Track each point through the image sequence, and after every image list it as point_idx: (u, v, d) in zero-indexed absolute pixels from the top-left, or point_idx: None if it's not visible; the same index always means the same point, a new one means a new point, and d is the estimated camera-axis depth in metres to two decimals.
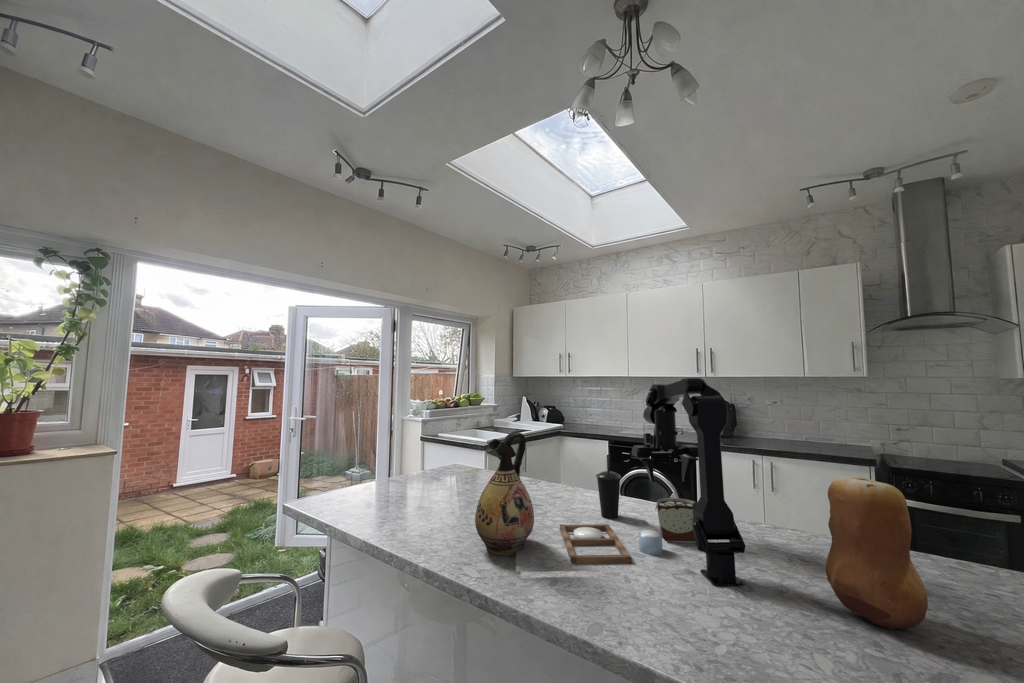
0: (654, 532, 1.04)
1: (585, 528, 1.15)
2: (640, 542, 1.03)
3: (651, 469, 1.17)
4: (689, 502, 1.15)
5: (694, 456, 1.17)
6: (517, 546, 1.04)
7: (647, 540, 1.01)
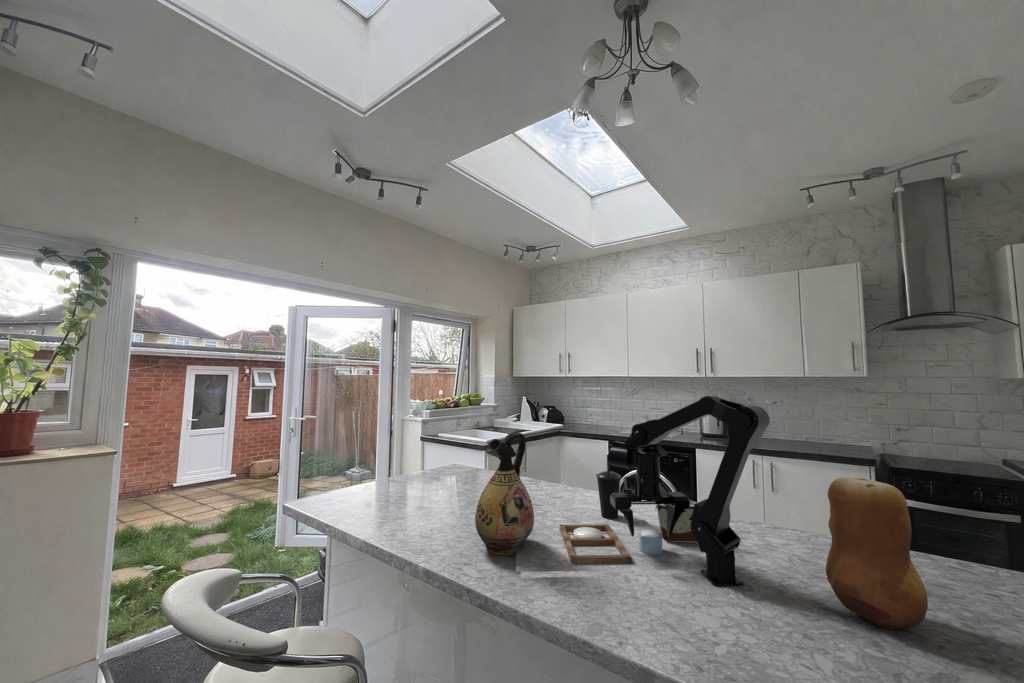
0: (654, 532, 1.04)
1: (585, 528, 1.15)
2: (640, 542, 1.03)
3: (631, 522, 1.02)
4: None
5: (681, 507, 1.01)
6: (517, 546, 1.04)
7: (647, 540, 1.01)
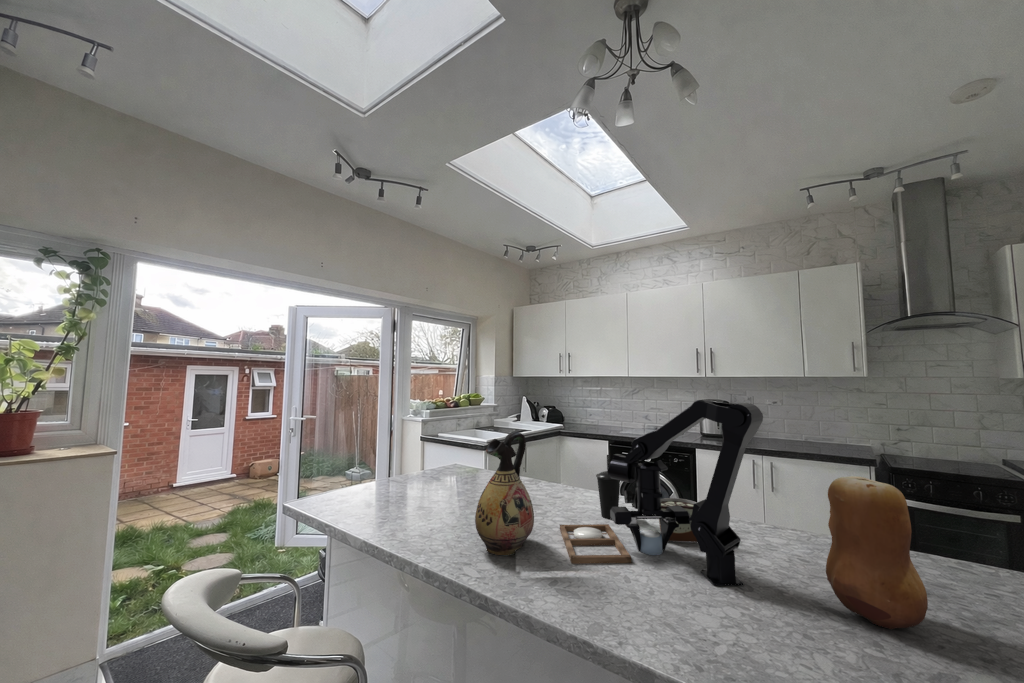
0: (654, 532, 1.04)
1: (585, 528, 1.15)
2: None
3: (638, 537, 1.02)
4: (689, 502, 1.15)
5: (681, 522, 1.01)
6: (517, 546, 1.04)
7: (647, 540, 1.01)
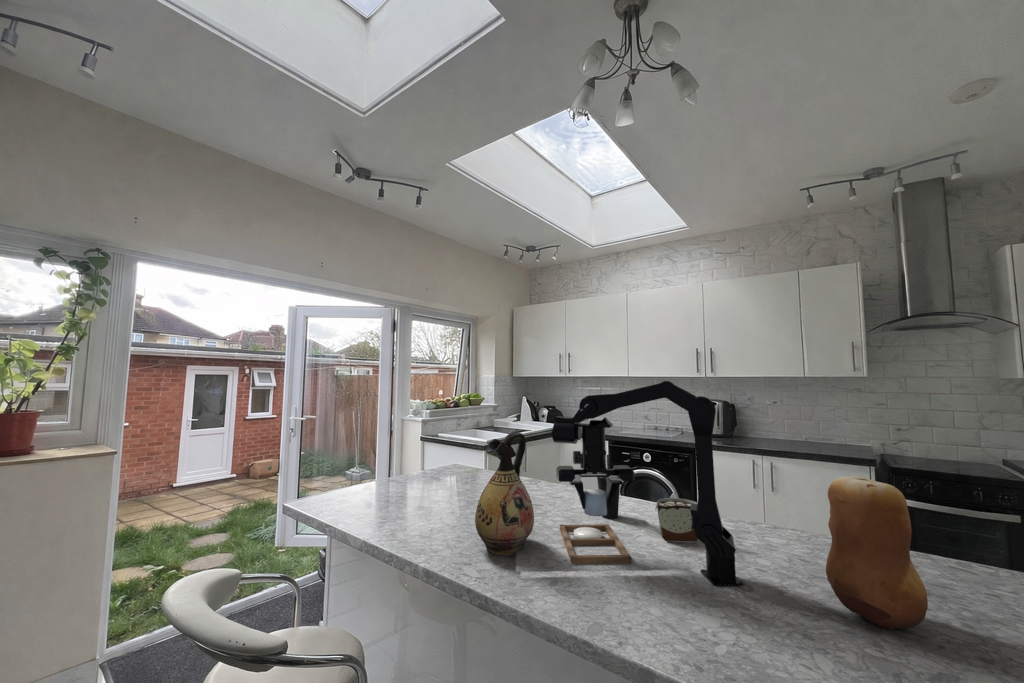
0: (599, 490, 1.04)
1: (585, 528, 1.15)
2: None
3: (582, 494, 1.01)
4: (689, 502, 1.15)
5: (624, 479, 1.00)
6: (517, 546, 1.04)
7: (591, 497, 1.01)
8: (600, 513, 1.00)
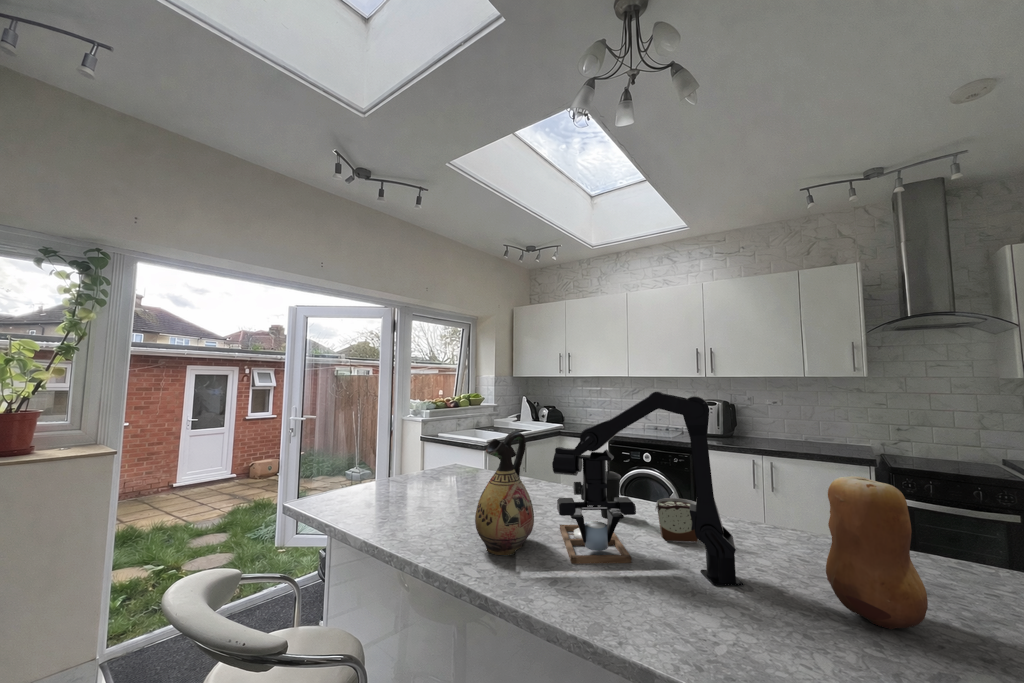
0: (600, 523, 1.03)
1: None
2: (585, 533, 1.02)
3: (582, 528, 1.00)
4: (689, 502, 1.15)
5: (626, 513, 1.00)
6: (517, 546, 1.04)
7: (592, 531, 1.00)
8: (601, 547, 0.99)
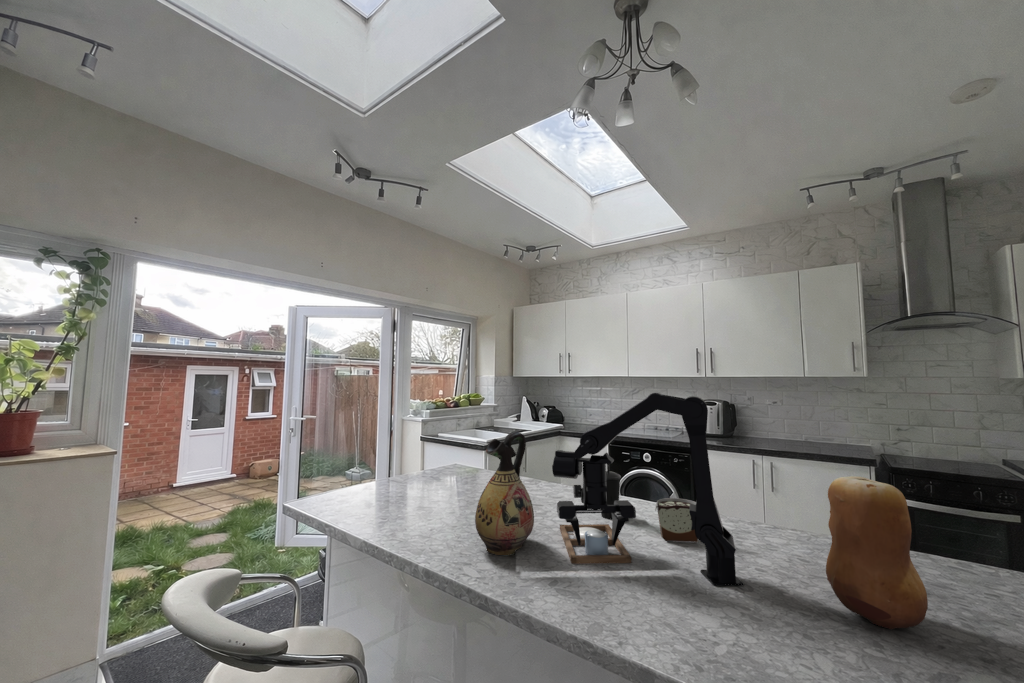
0: (601, 532, 1.03)
1: (585, 528, 1.15)
2: (586, 542, 1.01)
3: (577, 531, 1.00)
4: (689, 502, 1.15)
5: (625, 517, 1.00)
6: (517, 546, 1.04)
7: (592, 540, 1.00)
8: None
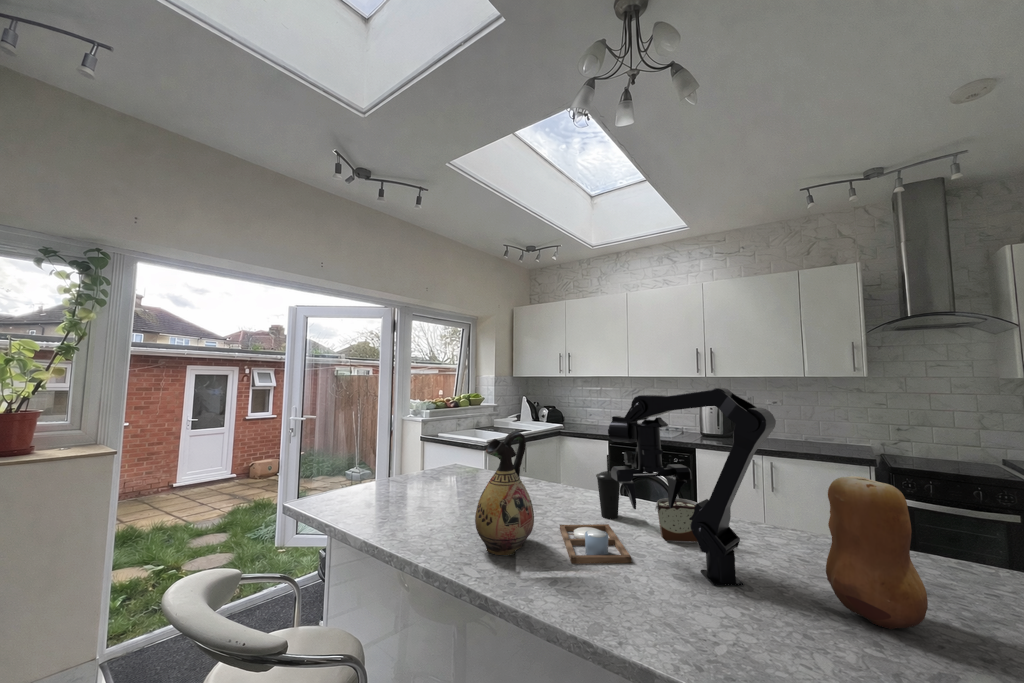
0: (601, 532, 1.03)
1: (585, 528, 1.15)
2: (586, 542, 1.01)
3: (633, 494, 1.01)
4: (689, 502, 1.15)
5: (682, 478, 1.01)
6: (517, 546, 1.04)
7: (592, 540, 1.00)
8: None
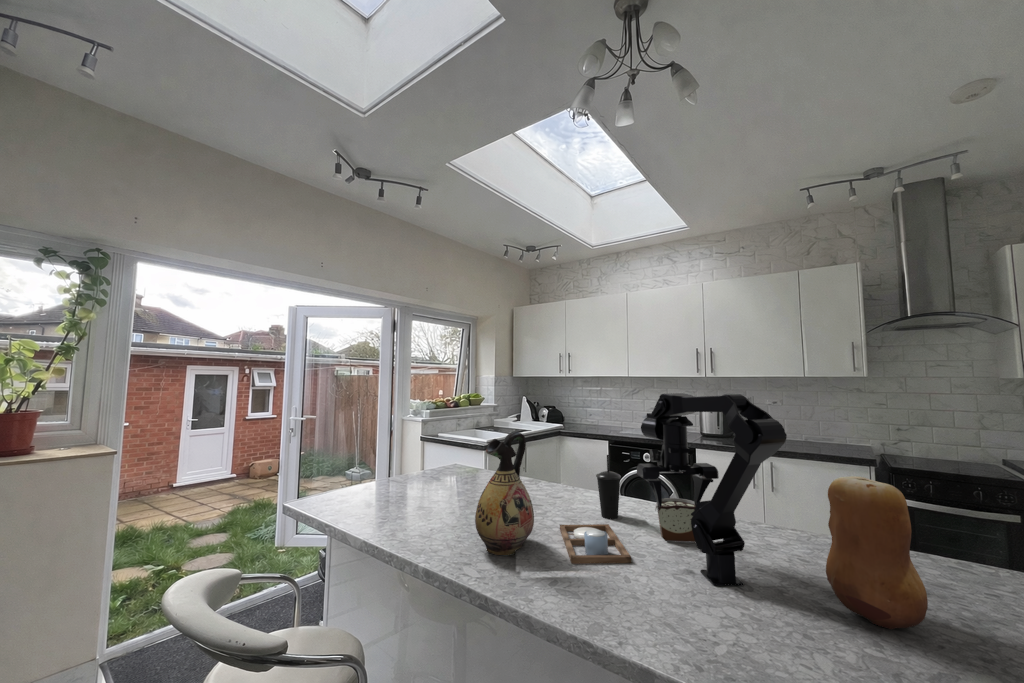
0: (600, 531, 1.03)
1: (585, 528, 1.15)
2: (585, 541, 1.02)
3: (659, 492, 1.02)
4: (689, 502, 1.15)
5: (709, 477, 1.01)
6: (517, 546, 1.04)
7: (591, 539, 1.00)
8: None
